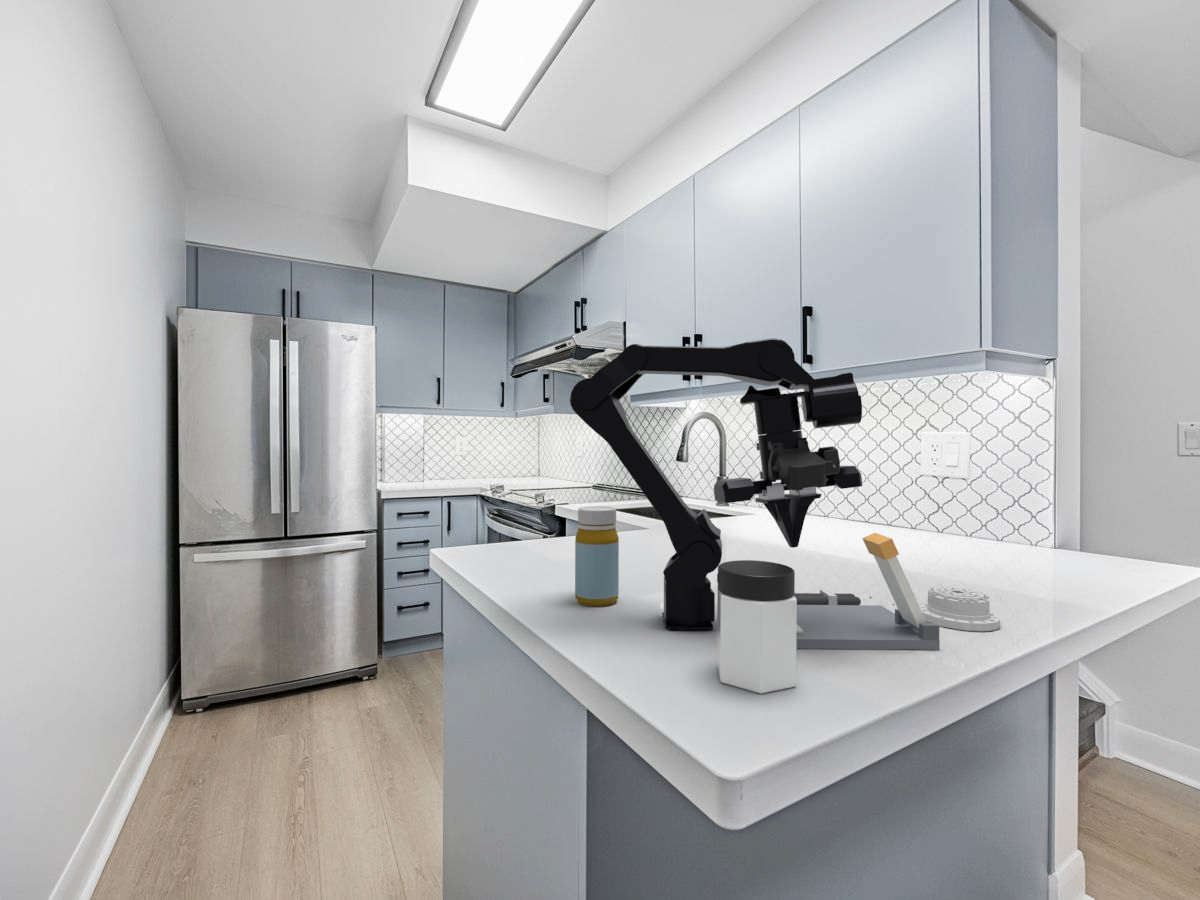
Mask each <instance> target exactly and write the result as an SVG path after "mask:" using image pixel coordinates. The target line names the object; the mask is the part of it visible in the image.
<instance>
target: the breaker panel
mask: <svg viewBox="0 0 1200 900" xmlns="http://www.w3.org/2000/svg"><path fill="white" fill-rule="evenodd" d="M940 646H941V645H940V626H939V625H937V624H935V623H929V622H927V623H919V631H918V630H916V629H915V628H913V627H911V626H910V625H908V624H906V623H905V622H904V619H903V618H902V616H901V614H900V612H899V610H898V608H895V609H894V612H893V611H892V610H889V609H888V608H887V607H884V606H883V605H879V604H878V605H875V604H874V605H871V604H869V605H868V604H867V605H866V604H865V605H863V604H860V605H797V635H796V650H799V648H800V650H801V649H802V648H803V649H802V650H804V648H805V650H812V649H813V650H886V649H893V650H894V649H895V650H896V649H900V651H901V649H902V651H903V649H915V650H914V651H917V650H918V651H939V650H940ZM807 648H808V649H807ZM919 649H920V650H919ZM895 650H894V651H895ZM896 651H897V650H896Z"/></svg>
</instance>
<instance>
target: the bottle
mask: <svg viewBox="0 0 1200 900" xmlns="http://www.w3.org/2000/svg"><path fill="white" fill-rule="evenodd" d="M577 522H578V523H577V527H578V528H577V529H578V530H577V532H576V534H575V542H574V543H575V544H574V547H575V548H574V550H575V551H574V553H575V554H574V555H575V557H574V568H575V571H574V573H575V574H574V580H575V583H574V589H575V590H574V593H575V595H574V596H575V600H576V601H577V602H578V603H579V604H580V603H581V605H583V606H586V607H607V606H611V605H613V603H614V604H615V603H616V602H617V600H618V599H619V590H620V589H619V583H620V581H619V577H620V576H619V575H620V574H619V573H620V569H619V567H620V566H619V565H620V564H619V559H620V557H619V554H620V552H619V550H620V548H619V547H620V545H619V543H620V541H619V540H620V539H619V534H618V531H617V529H616V528H617V523H616V522H617V508H616V507H611V506H582V507H578V509H577Z"/></svg>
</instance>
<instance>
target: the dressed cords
mask: <svg viewBox="0 0 1200 900" xmlns="http://www.w3.org/2000/svg"><path fill="white" fill-rule="evenodd" d="M794 596H795V598H796V599H797V605H862V604H861V603H862V601H861V598H859V597H858V596H856V595H855V594H854V593H834V592H832V591H831V590H830V589H827V588H825V589H823V588H822V589H821V588H820V589H819V593H815V592H813V593H809V592H808V593H807V592H806V593H805V592H804V593H802V592H796V593H795V592H794Z"/></svg>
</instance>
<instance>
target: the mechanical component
mask: <svg viewBox="0 0 1200 900" xmlns="http://www.w3.org/2000/svg"><path fill="white" fill-rule="evenodd" d="M919 606H920V609H921V611H922V613H923V615H924V617H925V619H926V622H927V623H935V624H937V625H939V627H944V628H949V629H952V630H960V631H968V632H970V631H971V632H991V631H992V632H993V631H996V630H998V629H1000V627H1001V618H1000V616H999V615H997V614H995V613H993V612H991V611H990V610H991V609H990V596H989V595H987V594H986V593H984V592H979V591H977V590H972V589H969V588H968V589H967V588H961V587H955V586H953V587H951V586H939V587H930V589H928V590H927V603H923V604H919Z"/></svg>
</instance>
